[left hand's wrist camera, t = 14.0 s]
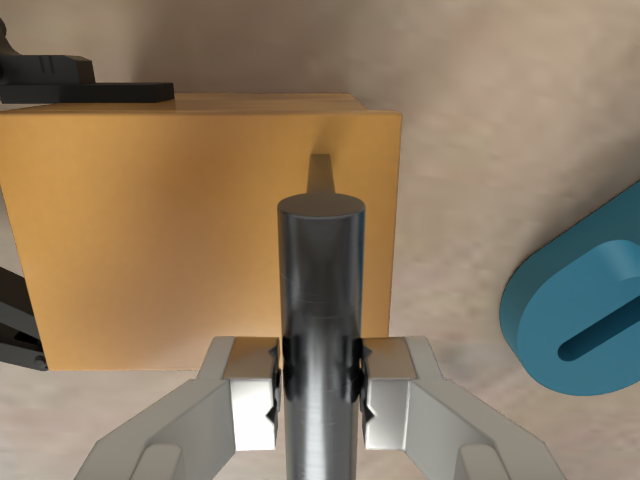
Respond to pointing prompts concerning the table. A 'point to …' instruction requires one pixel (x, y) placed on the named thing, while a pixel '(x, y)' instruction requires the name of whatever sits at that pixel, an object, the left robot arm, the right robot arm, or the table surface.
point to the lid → (212, 247)
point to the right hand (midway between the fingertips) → (178, 208)
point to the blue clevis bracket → (581, 304)
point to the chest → (223, 103)
